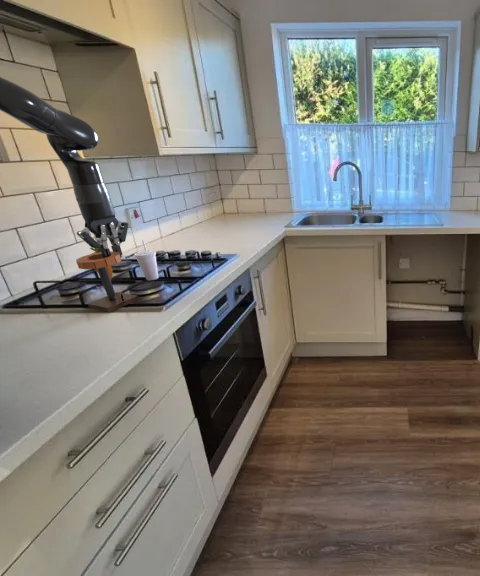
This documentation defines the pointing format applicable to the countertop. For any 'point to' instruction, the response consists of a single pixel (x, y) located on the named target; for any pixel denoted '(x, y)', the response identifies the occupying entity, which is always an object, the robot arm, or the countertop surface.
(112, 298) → the peg stand
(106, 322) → the countertop surface
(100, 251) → the carrot
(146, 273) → the smoothie
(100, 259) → the hang ring
